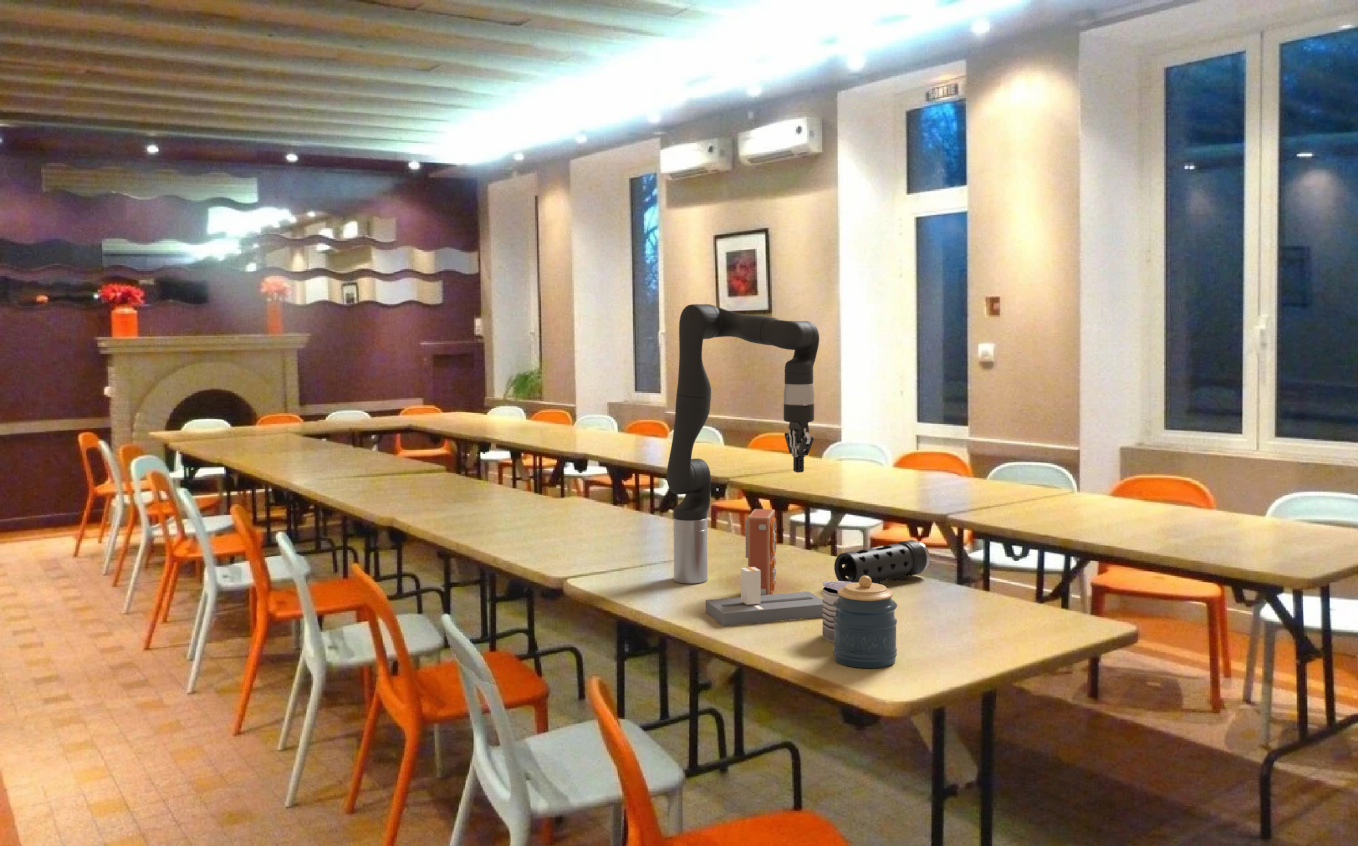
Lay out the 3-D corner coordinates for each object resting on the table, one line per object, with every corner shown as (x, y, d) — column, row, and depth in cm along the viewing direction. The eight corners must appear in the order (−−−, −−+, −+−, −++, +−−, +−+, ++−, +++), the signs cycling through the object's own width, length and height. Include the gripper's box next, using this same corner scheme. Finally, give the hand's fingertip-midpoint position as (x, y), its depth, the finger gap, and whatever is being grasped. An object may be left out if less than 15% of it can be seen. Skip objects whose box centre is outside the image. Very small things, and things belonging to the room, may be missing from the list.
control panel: (778, 589, 286) (771, 603, 272) (751, 587, 288) (743, 601, 273) (778, 508, 285) (771, 518, 270) (751, 507, 286) (743, 517, 271)
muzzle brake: (833, 587, 288) (833, 549, 287) (905, 573, 304) (906, 536, 303) (858, 594, 280) (859, 555, 279) (932, 579, 297) (932, 541, 296)
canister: (838, 648, 233) (838, 567, 231) (899, 653, 229) (900, 570, 227) (828, 666, 220) (828, 581, 219) (893, 671, 217) (894, 584, 215)
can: (819, 630, 247) (819, 578, 246) (870, 630, 247) (870, 578, 246) (824, 644, 236) (825, 590, 234) (877, 644, 235) (878, 590, 234)
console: (705, 612, 263) (705, 599, 263) (808, 603, 271) (808, 590, 271) (723, 626, 251) (723, 613, 251) (830, 616, 259) (830, 603, 259)
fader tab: (740, 600, 261) (740, 567, 260) (754, 599, 262) (754, 566, 261) (746, 604, 257) (746, 570, 256) (760, 603, 258) (760, 569, 257)
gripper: (774, 401, 273) (774, 469, 274) (795, 404, 260) (795, 476, 262) (801, 400, 275) (801, 468, 277) (824, 403, 263) (823, 474, 264)
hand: (798, 472), depth 269 cm, fingers closed
